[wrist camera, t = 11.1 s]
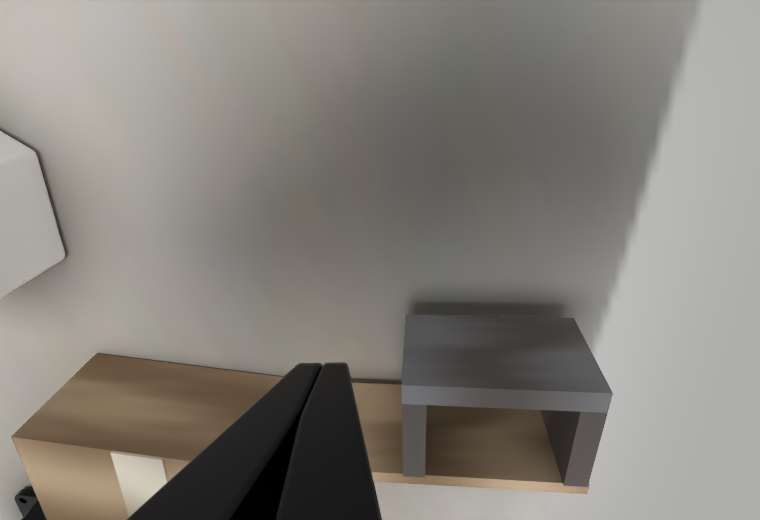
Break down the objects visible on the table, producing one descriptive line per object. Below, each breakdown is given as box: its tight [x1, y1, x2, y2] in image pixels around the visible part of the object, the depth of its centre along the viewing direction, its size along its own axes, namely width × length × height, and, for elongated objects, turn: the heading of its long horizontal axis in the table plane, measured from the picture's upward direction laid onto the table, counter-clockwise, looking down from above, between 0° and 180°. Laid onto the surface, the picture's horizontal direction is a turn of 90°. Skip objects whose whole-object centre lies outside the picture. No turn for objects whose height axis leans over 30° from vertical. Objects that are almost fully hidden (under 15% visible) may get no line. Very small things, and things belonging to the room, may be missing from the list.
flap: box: [352, 314, 613, 494], centre depth 17 cm, size 11×5×5 cm, turn 92°
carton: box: [11, 354, 283, 520], centre depth 22 cm, size 11×10×5 cm
